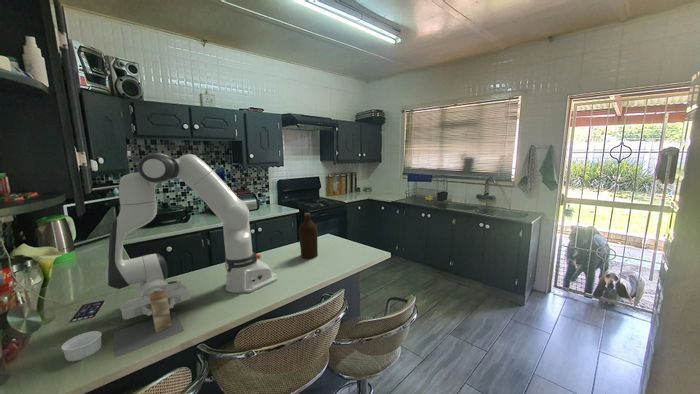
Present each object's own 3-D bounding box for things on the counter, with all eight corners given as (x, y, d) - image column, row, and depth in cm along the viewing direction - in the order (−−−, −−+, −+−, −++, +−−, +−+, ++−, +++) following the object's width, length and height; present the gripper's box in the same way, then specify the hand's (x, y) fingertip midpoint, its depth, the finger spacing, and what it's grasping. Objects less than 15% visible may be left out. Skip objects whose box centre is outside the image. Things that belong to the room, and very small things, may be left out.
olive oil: (317, 259, 155) (315, 215, 151) (298, 259, 155) (295, 215, 151) (319, 252, 165) (317, 211, 161) (302, 252, 166) (299, 211, 162)
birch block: (169, 321, 100) (164, 289, 98) (171, 326, 96) (167, 294, 95) (154, 326, 97) (149, 294, 95) (156, 332, 93) (150, 299, 92)
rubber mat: (175, 312, 106) (175, 311, 106) (184, 331, 94) (184, 330, 94) (113, 333, 94) (113, 332, 94) (115, 358, 82) (115, 357, 82)
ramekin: (69, 349, 87) (67, 337, 86) (106, 339, 92) (104, 327, 91) (59, 367, 80) (56, 354, 79) (99, 355, 84) (97, 342, 83)
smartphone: (67, 323, 101) (82, 304, 114) (67, 324, 101) (82, 305, 114) (94, 317, 104) (106, 299, 117) (95, 318, 104) (106, 300, 117)
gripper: (118, 297, 98) (120, 313, 88) (184, 278, 111) (192, 290, 101) (121, 314, 99) (123, 331, 89) (186, 293, 112) (194, 307, 102)
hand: (160, 309), depth 95 cm, fingers closed on birch block, 4 cm apart
